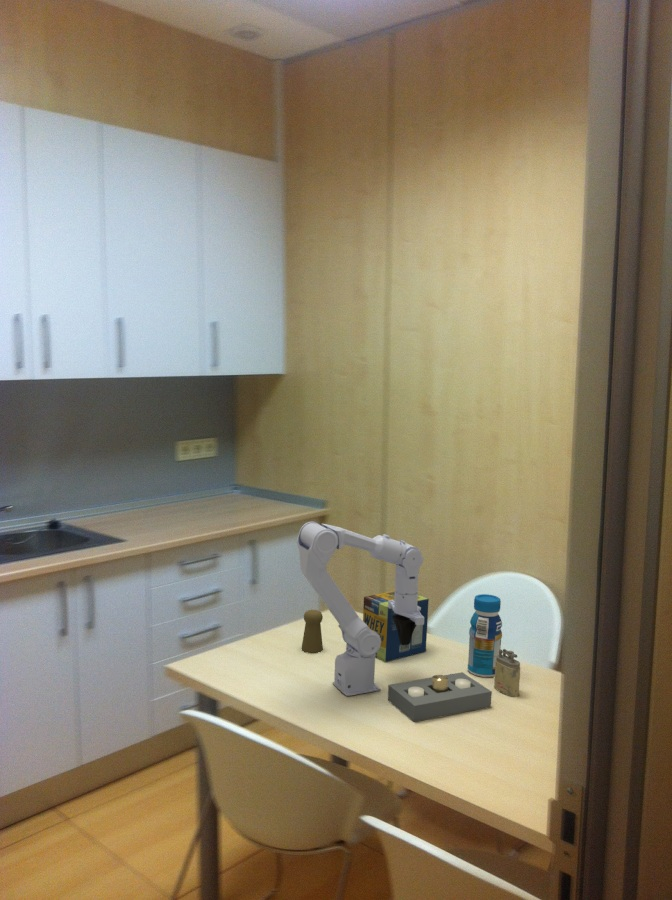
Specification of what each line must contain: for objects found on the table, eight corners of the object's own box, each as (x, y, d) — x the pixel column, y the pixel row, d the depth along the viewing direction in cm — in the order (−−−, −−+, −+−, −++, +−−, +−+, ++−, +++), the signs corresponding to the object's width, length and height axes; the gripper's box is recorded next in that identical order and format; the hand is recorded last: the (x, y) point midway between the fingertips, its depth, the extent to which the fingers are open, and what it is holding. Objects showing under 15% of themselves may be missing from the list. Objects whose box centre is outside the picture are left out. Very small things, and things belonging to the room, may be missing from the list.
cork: (322, 653, 207) (323, 614, 206) (300, 653, 208) (301, 614, 206) (323, 645, 213) (324, 607, 212) (301, 645, 214) (303, 607, 212)
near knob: (412, 712, 174) (413, 694, 173) (404, 705, 177) (405, 687, 177) (426, 709, 175) (426, 691, 175) (417, 703, 179) (418, 685, 178)
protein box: (360, 650, 211) (362, 596, 209) (402, 640, 220) (404, 588, 218) (385, 663, 203) (387, 606, 201) (427, 651, 212) (429, 597, 210)
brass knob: (437, 699, 176) (438, 681, 176) (428, 693, 180) (429, 676, 179) (450, 697, 178) (451, 679, 177) (441, 691, 181) (442, 673, 181)
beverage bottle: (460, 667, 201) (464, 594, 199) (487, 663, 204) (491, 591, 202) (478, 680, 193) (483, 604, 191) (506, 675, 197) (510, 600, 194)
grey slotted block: (413, 722, 169) (414, 705, 169) (387, 700, 180) (388, 684, 179) (490, 707, 178) (491, 691, 178) (461, 686, 189) (462, 672, 188)
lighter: (521, 695, 185) (524, 655, 184) (510, 698, 183) (513, 658, 182) (500, 684, 191) (503, 646, 190) (489, 687, 189) (492, 648, 188)
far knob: (460, 703, 179) (460, 685, 179) (451, 697, 183) (452, 679, 182) (472, 700, 181) (473, 683, 180) (463, 694, 184) (464, 677, 184)
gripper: (435, 597, 185) (433, 651, 186) (405, 581, 198) (404, 632, 199) (410, 601, 182) (409, 655, 183) (381, 584, 195) (380, 635, 196)
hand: (404, 643), depth 191 cm, fingers closed
